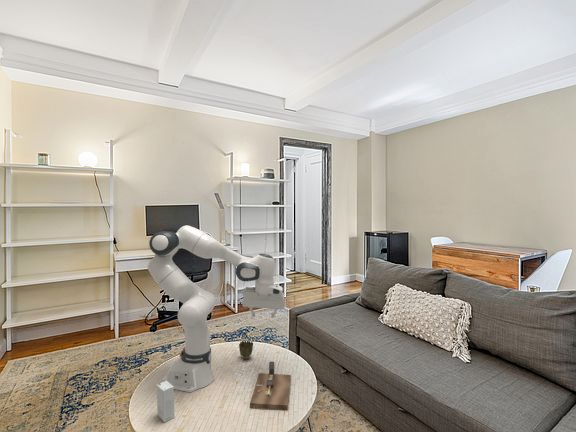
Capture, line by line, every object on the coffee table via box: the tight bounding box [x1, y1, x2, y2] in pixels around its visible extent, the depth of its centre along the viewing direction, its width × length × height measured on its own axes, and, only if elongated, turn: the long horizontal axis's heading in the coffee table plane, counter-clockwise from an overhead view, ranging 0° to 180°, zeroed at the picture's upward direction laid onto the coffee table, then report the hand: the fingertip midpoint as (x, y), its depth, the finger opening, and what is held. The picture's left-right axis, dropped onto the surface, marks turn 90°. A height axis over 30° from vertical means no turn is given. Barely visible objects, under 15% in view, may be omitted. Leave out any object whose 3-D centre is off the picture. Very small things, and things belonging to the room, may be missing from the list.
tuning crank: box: [267, 361, 275, 395], centre depth 136 cm, size 16×3×6 cm, turn 178°
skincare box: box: [156, 381, 176, 423], centre depth 118 cm, size 6×4×12 cm
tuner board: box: [249, 372, 292, 411], centre depth 134 cm, size 15×22×2 cm
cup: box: [238, 340, 254, 361], centre depth 163 cm, size 8×7×8 cm
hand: (263, 316), depth 148 cm, fingers open, 8 cm apart
